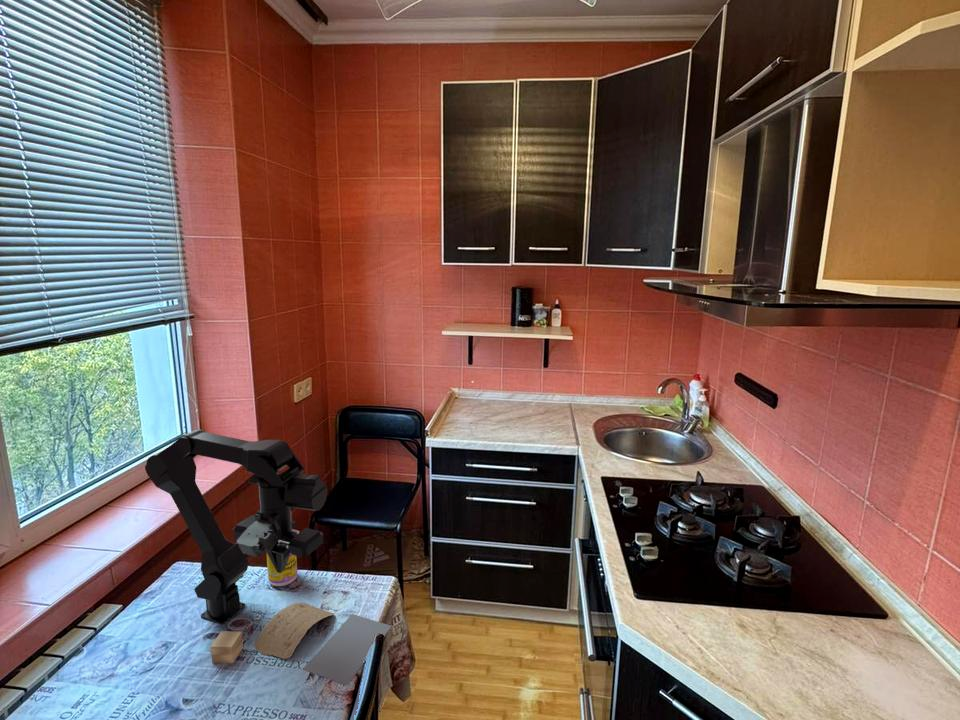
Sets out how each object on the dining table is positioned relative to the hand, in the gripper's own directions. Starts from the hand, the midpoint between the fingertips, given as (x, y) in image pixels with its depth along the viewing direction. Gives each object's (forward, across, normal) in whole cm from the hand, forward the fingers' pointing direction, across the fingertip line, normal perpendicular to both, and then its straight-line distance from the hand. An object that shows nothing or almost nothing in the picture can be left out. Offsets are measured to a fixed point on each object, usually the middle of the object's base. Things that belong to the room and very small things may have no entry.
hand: (280, 571), depth 103 cm
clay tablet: (+13, +8, -1) cm, 16 cm away
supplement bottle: (+13, -11, +12) cm, 21 cm away
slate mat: (+12, +17, 0) cm, 21 cm away
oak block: (+13, -4, -11) cm, 17 cm away
